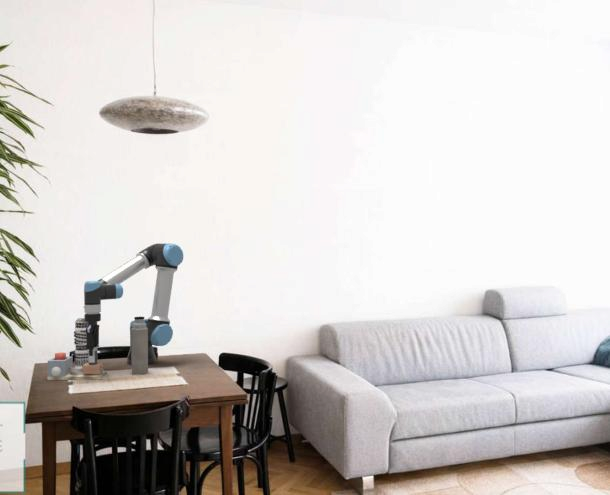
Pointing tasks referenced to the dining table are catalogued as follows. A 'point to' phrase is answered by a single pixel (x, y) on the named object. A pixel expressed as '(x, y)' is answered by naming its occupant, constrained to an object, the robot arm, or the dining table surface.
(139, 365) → the thermos bottle
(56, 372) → the end cabinet
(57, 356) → the button
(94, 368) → the carriage
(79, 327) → the decorative candle
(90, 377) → the rail base
